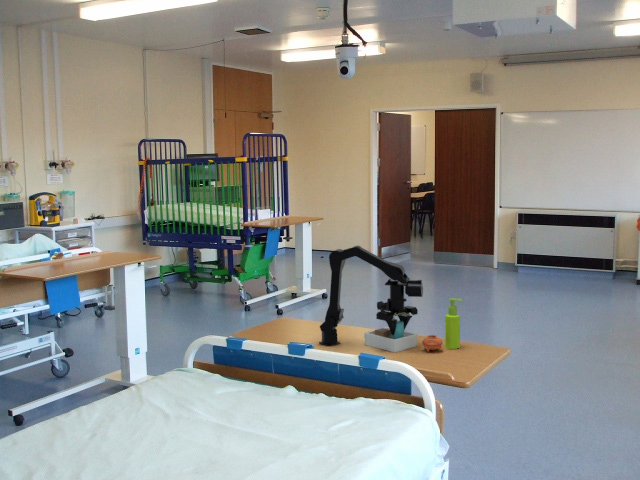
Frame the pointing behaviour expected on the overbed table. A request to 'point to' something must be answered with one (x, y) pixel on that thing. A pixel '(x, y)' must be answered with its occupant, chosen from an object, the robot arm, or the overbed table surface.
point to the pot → (432, 342)
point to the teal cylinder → (398, 330)
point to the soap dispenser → (452, 326)
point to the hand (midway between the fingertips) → (397, 334)
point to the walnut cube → (383, 332)
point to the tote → (390, 341)
